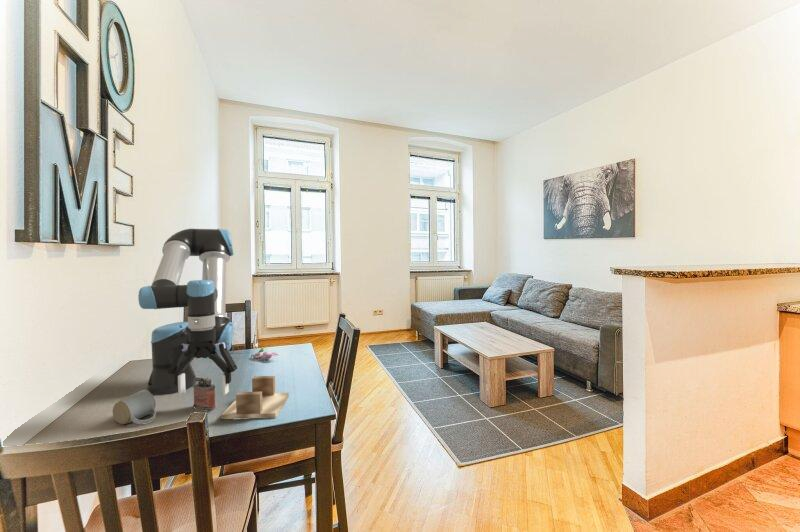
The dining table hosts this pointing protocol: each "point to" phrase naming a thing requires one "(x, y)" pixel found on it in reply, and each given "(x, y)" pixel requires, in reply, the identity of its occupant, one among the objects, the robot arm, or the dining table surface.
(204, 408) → the lighter
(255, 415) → the stand
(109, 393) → the dining table surface
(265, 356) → the pink flower
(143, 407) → the ceramic mug
